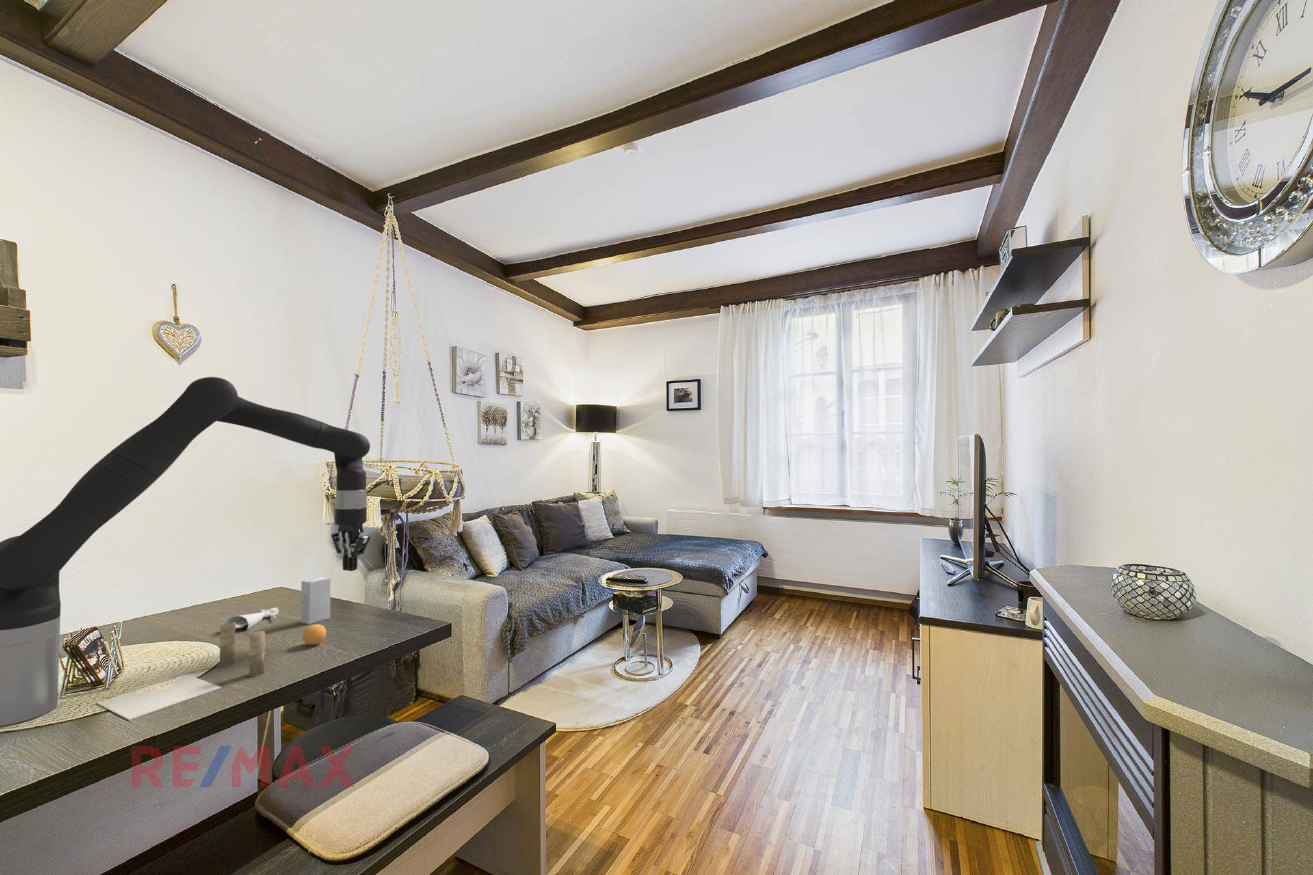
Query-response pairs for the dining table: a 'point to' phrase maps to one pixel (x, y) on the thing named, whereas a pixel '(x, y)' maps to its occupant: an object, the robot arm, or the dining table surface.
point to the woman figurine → (252, 618)
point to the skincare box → (315, 600)
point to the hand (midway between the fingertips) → (349, 569)
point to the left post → (227, 644)
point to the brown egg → (314, 634)
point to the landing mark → (158, 697)
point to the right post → (257, 653)
